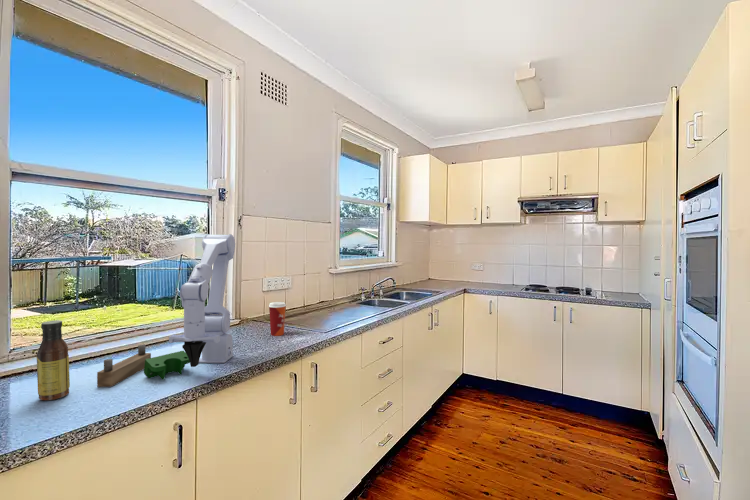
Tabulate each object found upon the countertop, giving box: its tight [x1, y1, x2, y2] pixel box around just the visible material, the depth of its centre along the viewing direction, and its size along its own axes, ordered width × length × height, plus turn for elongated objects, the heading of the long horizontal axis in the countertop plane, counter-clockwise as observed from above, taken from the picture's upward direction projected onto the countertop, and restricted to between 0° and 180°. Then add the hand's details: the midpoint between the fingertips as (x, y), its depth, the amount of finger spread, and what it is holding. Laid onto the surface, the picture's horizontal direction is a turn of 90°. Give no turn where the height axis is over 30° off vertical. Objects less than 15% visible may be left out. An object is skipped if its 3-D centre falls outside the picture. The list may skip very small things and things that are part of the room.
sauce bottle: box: [36, 319, 71, 402], centre depth 94 cm, size 7×6×20 cm
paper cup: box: [268, 301, 287, 337], centre depth 161 cm, size 8×8×14 cm
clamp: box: [143, 350, 190, 380], centre depth 111 cm, size 12×6×9 cm, turn 138°
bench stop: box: [96, 343, 152, 388], centre depth 110 cm, size 4×18×7 cm, turn 0°
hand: (194, 365), depth 111 cm, fingers closed
